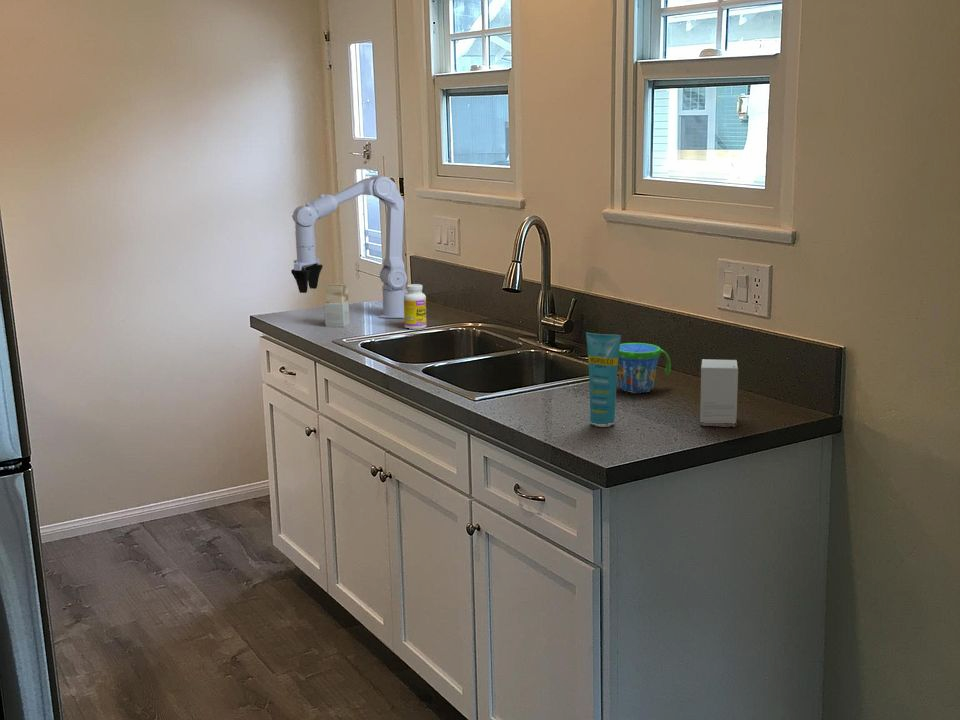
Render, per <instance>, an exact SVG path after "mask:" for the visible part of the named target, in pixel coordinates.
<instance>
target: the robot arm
mask: <svg viewBox="0 0 960 720" xmlns="http://www.w3.org/2000/svg"><path fill="white" fill-rule="evenodd" d="M361 195H364V196H373V197H375V198H376V199H379V200H380V202H382V203H383V204H384V205H385V206H386V207H387V208H386V231H385V233H386V235H385V258H384V260H383V262H382V268H381V270H380V272H379V278H380V281H381V282H382V283H383V285H382V308H383V309H382V310H383V312H382V314H380V315H378V317H379V318H385V319H388V318H389V319H404V295H405V294H407V293H408V291H407V288H406V285H407V281H408V276H407V273H406V270H405V268H406V267H405V263H404V261H403V260H404V259H403V240H404V238H403V237H404V216H405V215H404V213H405V212H404V211H405V210H404V207H405V201H404V198H403V197H402V195H401V193H400V191H399V189H398V187H397V184H396V182H394V181H393V180H392V179H391V178H390V177H387V176H380V175H377V174H375V175H372V176H371V175H370V177H367V178H364V179H361V180H359V181H357V182H355V183H353V184H352V185H350V186H348V187H346V188H345V189H343V190H340V191H339V192H337V193H336V194H333V195H332V194H329V193H326V194H324V193H321V194H319V197H318V198H316V199H313V200H311V201H306V202H305V205H299V206H297V207H296V208H295V209H294V210H293V214H292V215H291V217H292V220H293V222H294V223H295V227H294V228H295V232H294V233H295V245H296V246H295V247H296V248H295V249H296V259H294V260H293V269H291V270H290V271H291V273H290V274H292V275H293V278H294V279H295V282H296V285H297V288H298V291H299V293H300V294H302V293H303V294H306V293H308V289H310V290H312V289H313V290H314V289H317V288H318V286H319V285H318V283H319V278H320V273H321V272H322V269H323V264H320V257H319V256H318V257H317V253H316V237H315V236H316V234H315V233H316V232H315V223H316V221H318V220H320V219H322V218H324V217H327V216H328V215H331V214H332V213H334V212H336V211H337V209H338V207H339V205H341V204H344V203H345V202H348V201H350V200H352V199H354V198H357V197H360V196H361ZM308 287H309V288H308Z"/></svg>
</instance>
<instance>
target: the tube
mask: <svg viewBox="0 0 960 720" xmlns="http://www.w3.org/2000/svg"><path fill="white" fill-rule="evenodd" d="M585 338H586V346H587V357H588V358H587V359H588V377H589V378H588V379H589V381H588V382H589V415H590V416H589V418H590V420H589V422H590V421H591V422H592V423H596V424H608V423H613V422H614V423H615V418H616V400H617V399H616V397H617V380H618V371H617V370H618V358H619V348H620V344H621V340H622V335H621V334H605V333H604V334H601V333H592V332H585Z"/></svg>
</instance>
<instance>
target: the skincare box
mask: <svg viewBox="0 0 960 720" xmlns="http://www.w3.org/2000/svg"><path fill="white" fill-rule="evenodd" d="M349 302H350V301H349V300H348V301H346V302H344V303H327V302H325V303H323V306H324V307H323V309H324V319H325V320H324V321H325V327H326V328H345V327H347V326H348V325H350V324H351V320H350V318H351V317H350V305H349V304H350V303H349ZM347 324H348V325H347ZM346 325H347V326H346Z"/></svg>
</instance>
